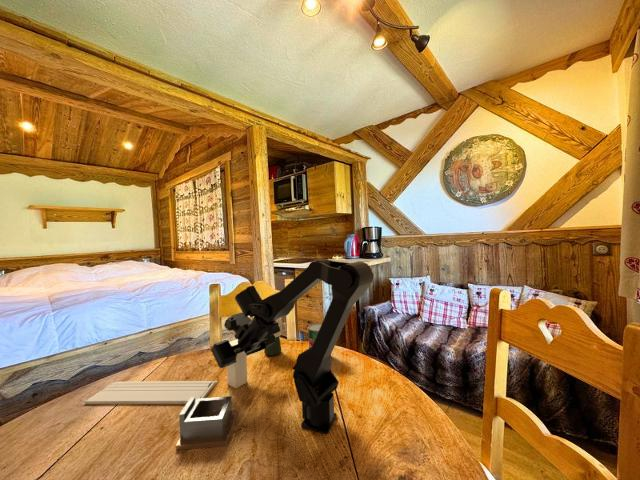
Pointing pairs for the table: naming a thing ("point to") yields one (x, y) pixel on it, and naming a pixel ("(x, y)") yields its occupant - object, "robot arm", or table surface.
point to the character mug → (276, 340)
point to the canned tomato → (313, 333)
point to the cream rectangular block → (237, 369)
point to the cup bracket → (206, 423)
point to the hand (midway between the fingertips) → (233, 359)
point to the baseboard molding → (152, 392)
